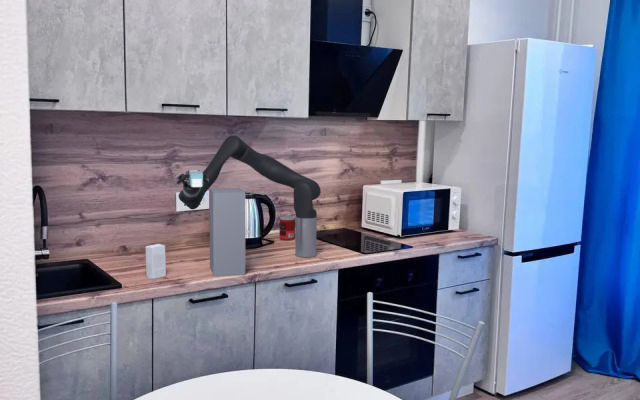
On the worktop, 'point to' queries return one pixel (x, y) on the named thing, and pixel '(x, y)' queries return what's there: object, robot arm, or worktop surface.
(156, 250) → the skincare box
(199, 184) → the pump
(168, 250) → the worktop surface
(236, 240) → the stand
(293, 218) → the canned food
